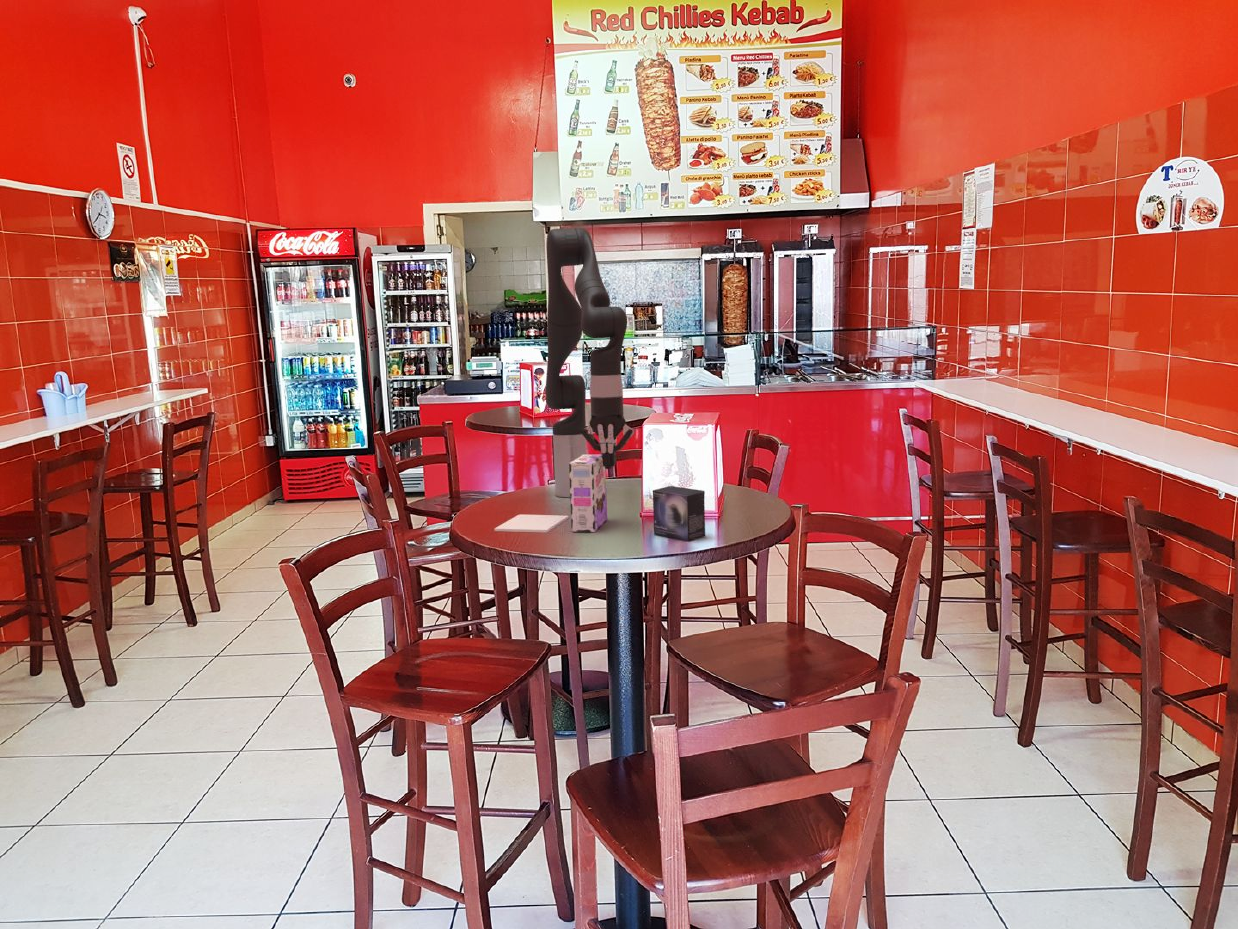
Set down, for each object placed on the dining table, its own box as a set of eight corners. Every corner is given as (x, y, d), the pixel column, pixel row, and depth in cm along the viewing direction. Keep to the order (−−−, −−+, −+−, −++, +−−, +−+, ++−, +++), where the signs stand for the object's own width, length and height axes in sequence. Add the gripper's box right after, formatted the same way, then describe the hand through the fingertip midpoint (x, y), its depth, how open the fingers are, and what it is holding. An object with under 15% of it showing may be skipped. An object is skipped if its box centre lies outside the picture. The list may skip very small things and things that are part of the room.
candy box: (595, 533, 220) (592, 462, 217) (570, 532, 221) (567, 462, 219) (608, 520, 233) (605, 453, 231) (584, 519, 235) (582, 453, 232)
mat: (519, 516, 240) (519, 514, 240) (568, 518, 237) (568, 515, 237) (494, 531, 225) (494, 528, 225) (546, 532, 222) (546, 530, 222)
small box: (651, 535, 216) (650, 489, 214) (671, 530, 220) (670, 485, 219) (687, 542, 208) (686, 494, 207) (706, 536, 213) (705, 490, 211)
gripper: (638, 392, 223) (640, 466, 226) (583, 393, 227) (586, 465, 229) (630, 395, 216) (632, 471, 219) (574, 396, 219) (577, 471, 222)
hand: (609, 468), depth 224 cm, fingers closed
